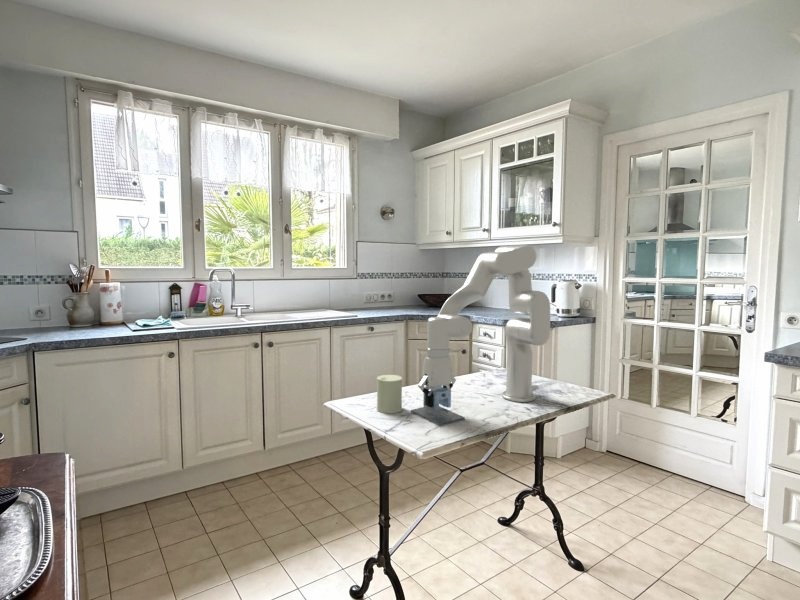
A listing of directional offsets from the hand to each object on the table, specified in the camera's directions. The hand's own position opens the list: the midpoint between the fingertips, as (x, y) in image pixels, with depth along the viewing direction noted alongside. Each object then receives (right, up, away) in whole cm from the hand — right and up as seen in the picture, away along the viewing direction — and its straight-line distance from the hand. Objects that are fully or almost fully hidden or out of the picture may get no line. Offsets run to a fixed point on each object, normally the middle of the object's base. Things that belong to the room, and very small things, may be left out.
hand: (437, 404), depth 155 cm
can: (-17, -4, +7) cm, 19 cm away
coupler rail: (0, -4, 0) cm, 4 cm away
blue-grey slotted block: (0, -1, 0) cm, 1 cm away
